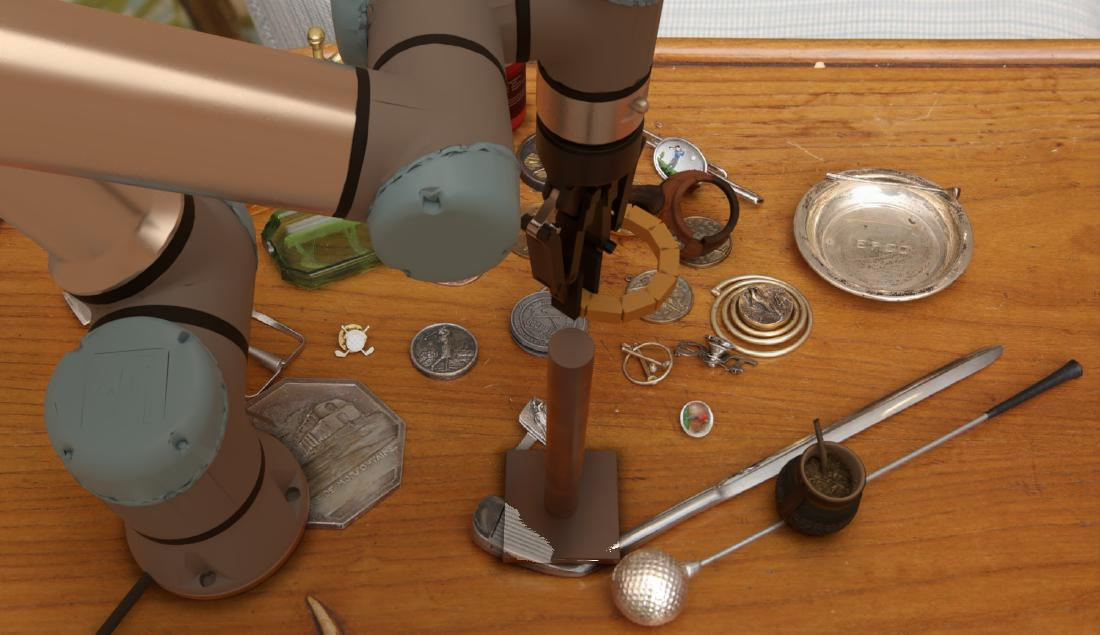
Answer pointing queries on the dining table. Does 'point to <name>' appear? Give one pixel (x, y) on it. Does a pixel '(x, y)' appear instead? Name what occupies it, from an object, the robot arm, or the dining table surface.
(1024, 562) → the dining table surface
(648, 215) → the ring
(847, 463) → the mate gourd
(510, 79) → the canned food
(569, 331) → the holder
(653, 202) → the brown knobbed loop
